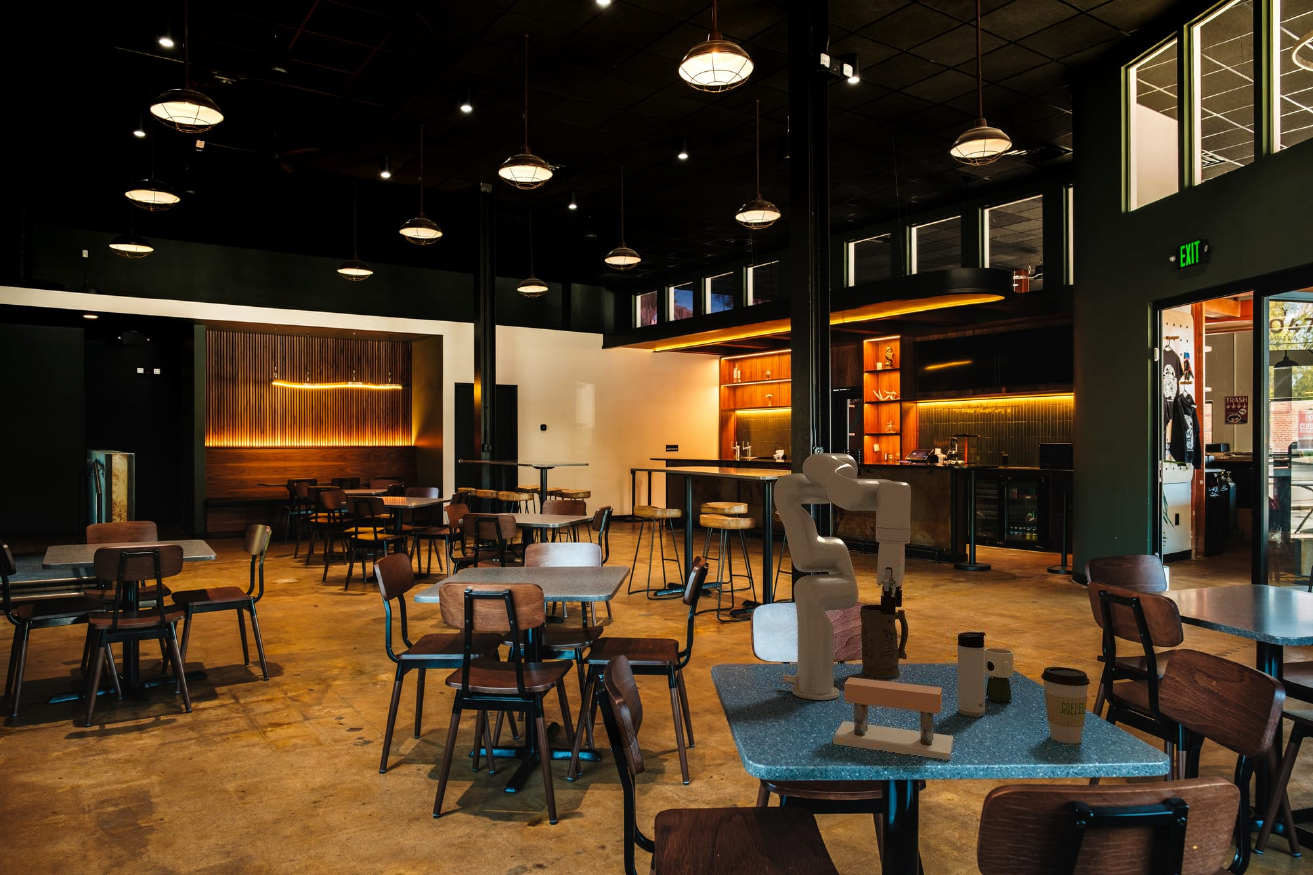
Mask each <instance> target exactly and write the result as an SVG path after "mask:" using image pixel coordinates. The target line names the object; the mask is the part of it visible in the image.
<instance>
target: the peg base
mask: <svg viewBox="0 0 1313 875" xmlns="http://www.w3.org/2000/svg"><path fill="white" fill-rule="evenodd" d="M832 738H833V739H832V744H833V745H839V746H846V747H853V748H860V749H865V748H866V749H867V750H872V751H873V750H874V751H879V750H883V751H882V752H885V751H887V752H886V753H892V752H895V753H894V754H899V753H900V754H901V755H906V754H911V755H910V756H913V755H921V756H926V757H935V758H942V759H950V760H951V758H950V757H952V753H953V752H952V751H953V746H954V735H948V734H940V733H934V740H932V745H930V746H926V745H922V744H921V743H920V730H912V729H903V728H896V727H890V726H889V727H888V726H881V725H873V724H868V731H865V736H857V735H855V734H854V721H842V723H841V724H840V725H839V727H838V729H837V730H836V732H835V734H834V735H833V737H832ZM866 749H865V750H866ZM951 752H952V753H951ZM926 757H925V758H926Z"/></svg>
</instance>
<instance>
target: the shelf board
mask: <svg viewBox="0 0 1313 875" xmlns="http://www.w3.org/2000/svg"><path fill="white" fill-rule="evenodd" d="M844 702H845V703H851V704H854V703H858V704H865V705H868V706H874V707H884V708H892V709H899V710H908V711H915V712H920V711H921V712H929V713H934V714H937V715H938V714H939V715H940V714H941V713H942V712H941V711H942V707H943V687H940V686H939V687H938V686H929V685H920V684H912V683H904V682H903V683H902V682H895V681H893V682H892V681H885V680H878V679H868V678H867V679H866V678H858V677H850V676H849V677H848V679H847V680H846V681H845V683H844Z"/></svg>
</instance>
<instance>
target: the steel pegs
mask: <svg viewBox="0 0 1313 875" xmlns="http://www.w3.org/2000/svg"><path fill="white" fill-rule="evenodd" d="M853 705H854V706H853V711H854V712H853V723H854V734H855V735H857V736H865V731H868V725H869V705H865V704H858V703H853ZM919 714H920V715H919V716H920V717H919V719H920V720H919V721H920V730H919V731H920V743H921V744H922V745H926V746H930V745H932V740H934V732H935V731H934V721H935V718H934V714H935V713H929V712H921V711H919Z"/></svg>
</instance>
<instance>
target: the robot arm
mask: <svg viewBox="0 0 1313 875" xmlns="http://www.w3.org/2000/svg"><path fill="white" fill-rule="evenodd" d="M858 470H859V469H858V463H857V461H856V460H855V459H854V458H853V456H851V455H850V454H847V453H838V452H837V453H831V452H830V453H829V452H823V453H822V452H819V453H813V454H811V455H810V456H807V458H806V459H805V460H804V462H803V464H802V472H803V473H788V474H784V475H782V476H781V477H779V478H778V479H777V481H776V482H775V484H774V489H773V501H774V505H775V508H776V511H777V513H778V516H779V518H780V519H781V522H782V524H783V527H784V531H785V536H786V540H787V545H788V549H789V552H790V557H791V561H792V564H793V566H794V568H795V569H796V570H797V571H799V572H803V573H818V572H819V573H821V572H828V574H825V573H823V574H811V575H810V574H809V575H805V576H802V577H800V578H798V580H797V581H796V582H795V583H794V586H793V595H794V596H793V597H794V603H795V608H796V617H797V618H796V619H797V620H796V621H797V623H796V624H797V674H793V675H790V674H784V673H783V674H782V676H781V681H782V682H784V684H788V685H792V687H791V693H792V694H793V695H794V696H796V697H799V698H802V699H807V700H814V701H828V700H835V699H837V698H839V696H840V690H839V689H838V687H835V686H834V684H835V683H834V682H835V681H834V680H835V679H834V678H835V677H834V676H835V674H834V673H835V672H834V670H835V669H834V665H835V664H834V663H835V662H834V658H835V657H834V655H835V653H834V651H835V649H834V646H835V645H834V642H835V639H834V638H835V636H834V631H835V630H834V626H833V622H832V621H831V619H830V618H829V616H828V615H827V612H828V611H839V610H849V609H852V608H854V607H855V606H856V605H857V603H858V601H859V595H860V594H859V588H858V587H859V586H858V582H857V578H856V574H855V570H854V567H853V564H852V558H851V556H850V552H849V549H848V547H847V545H846V543H845V542H844V541H843V540H842V539H841V538H838V537H836V536H835V537H834V536H820V535H819V534H818V533H819V532H818V531H817V526H816V523H815V520H814V518H813V516H812V515H811V514H810V513H809V512H808V511H807V509H805V508H804V507H803V506H802V505H804V504H806V505H810V504H811V505H813V504H816V505H817V504H818V505H819V504H820V505H822V504H823V505H824V504H825V505H826V504H830V503H832V504H833V505H835V506H837V507H839V508H841V509H843V510H846V511H852V512H853V511H855V512H856V511H857V512H859V511H860V512H861V511H862V512H863V511H864V512H865V511H866V512H867V511H872V512H875V514H876V515H875V542H877V543H879V544H878V554H877V565H876V567H877V571H876V572H877V573H876V584H877V587H880V586H881V594H880V605H881V614H887V615H895V614H896V612H897V611H896V610H897V608H902V606H903V589H902V588H903V585H902V584H903V582H904V578H905V559H906V558H905V557H906V555H905V554H906V552H905V551H906V550H905V548H906V546H905V545H906V544H910V543H911V505H912V504H911V502H912V501H911V500H912V498H911V497H912V496H911V495H912V493H911V492H912V489H911V486H910V484H909V483H907V482H903V481H893V480H889V479H884V478H882V479H881V478H879V479H878V478H876V479H875V478H858Z"/></svg>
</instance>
